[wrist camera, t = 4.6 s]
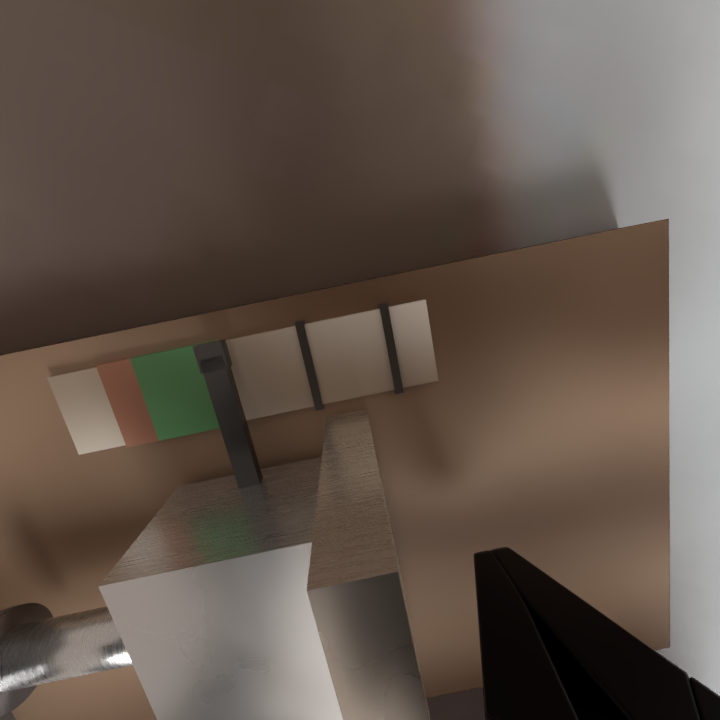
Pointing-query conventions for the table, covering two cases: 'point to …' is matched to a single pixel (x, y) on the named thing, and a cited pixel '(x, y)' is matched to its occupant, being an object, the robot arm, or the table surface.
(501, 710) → the robot arm
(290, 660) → the gauge carriage
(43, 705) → the gauge base
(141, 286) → the table surface
